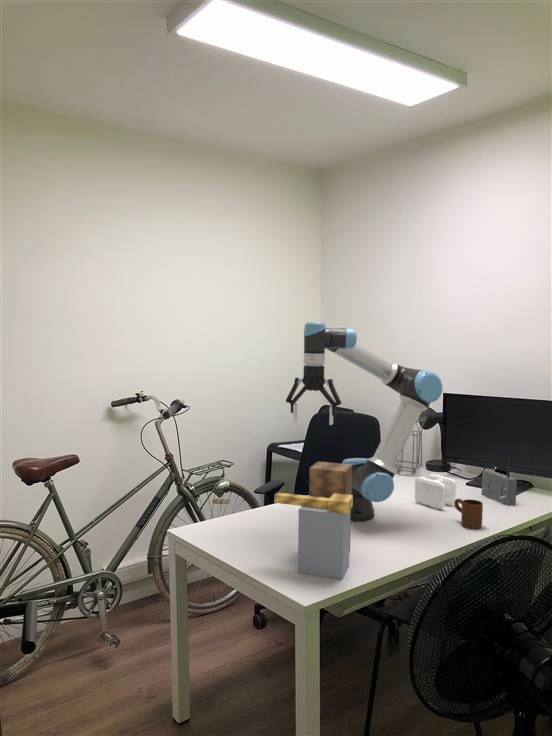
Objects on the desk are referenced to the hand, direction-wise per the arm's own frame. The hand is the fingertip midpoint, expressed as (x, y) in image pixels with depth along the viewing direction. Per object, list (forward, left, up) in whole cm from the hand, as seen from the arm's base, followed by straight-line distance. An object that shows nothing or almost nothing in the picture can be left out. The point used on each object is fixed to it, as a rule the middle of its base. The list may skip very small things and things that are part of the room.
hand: (312, 423), depth 212 cm
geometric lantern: (-20, +103, -41) cm, 113 cm away
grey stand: (+24, -22, -41) cm, 52 cm away
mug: (+37, +50, -41) cm, 75 cm away
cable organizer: (+16, +64, -41) cm, 78 cm away
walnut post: (+18, -12, -41) cm, 46 cm away
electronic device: (+32, +90, -41) cm, 104 cm away
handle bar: (+20, -24, -21) cm, 38 cm away
